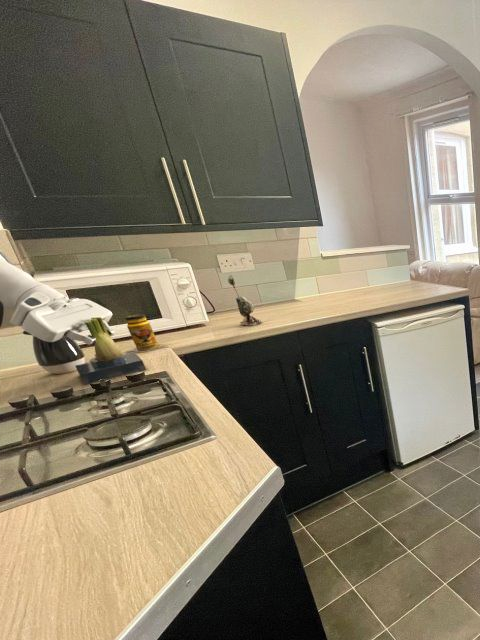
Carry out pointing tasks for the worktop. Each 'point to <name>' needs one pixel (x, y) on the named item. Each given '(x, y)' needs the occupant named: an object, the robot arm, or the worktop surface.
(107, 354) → the fennel bulb
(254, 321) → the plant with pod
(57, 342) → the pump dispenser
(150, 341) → the condiment
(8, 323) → the robot arm
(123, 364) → the blue jug base
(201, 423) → the worktop surface
